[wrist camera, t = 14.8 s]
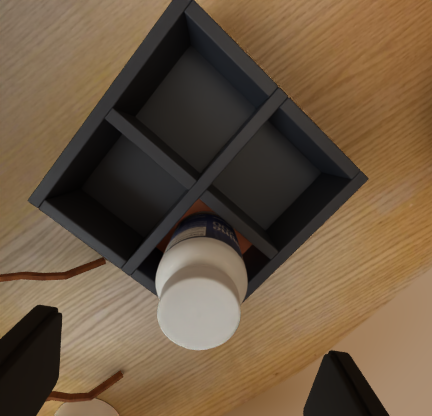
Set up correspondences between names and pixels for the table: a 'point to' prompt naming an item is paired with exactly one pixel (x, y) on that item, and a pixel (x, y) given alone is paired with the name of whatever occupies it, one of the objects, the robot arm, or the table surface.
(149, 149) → the divided storage tray
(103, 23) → the table surface
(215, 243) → the pill bottle
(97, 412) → the cylindrical container
